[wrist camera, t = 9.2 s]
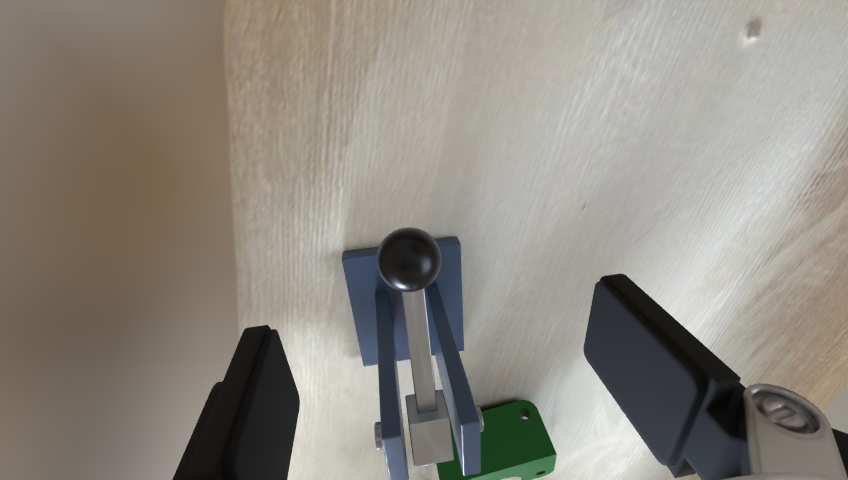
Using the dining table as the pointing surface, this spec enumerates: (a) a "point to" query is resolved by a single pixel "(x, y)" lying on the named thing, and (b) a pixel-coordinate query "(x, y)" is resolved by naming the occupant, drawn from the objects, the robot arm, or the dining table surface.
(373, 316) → the bracket
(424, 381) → the lever
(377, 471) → the dining table surface
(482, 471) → the green mounting block
